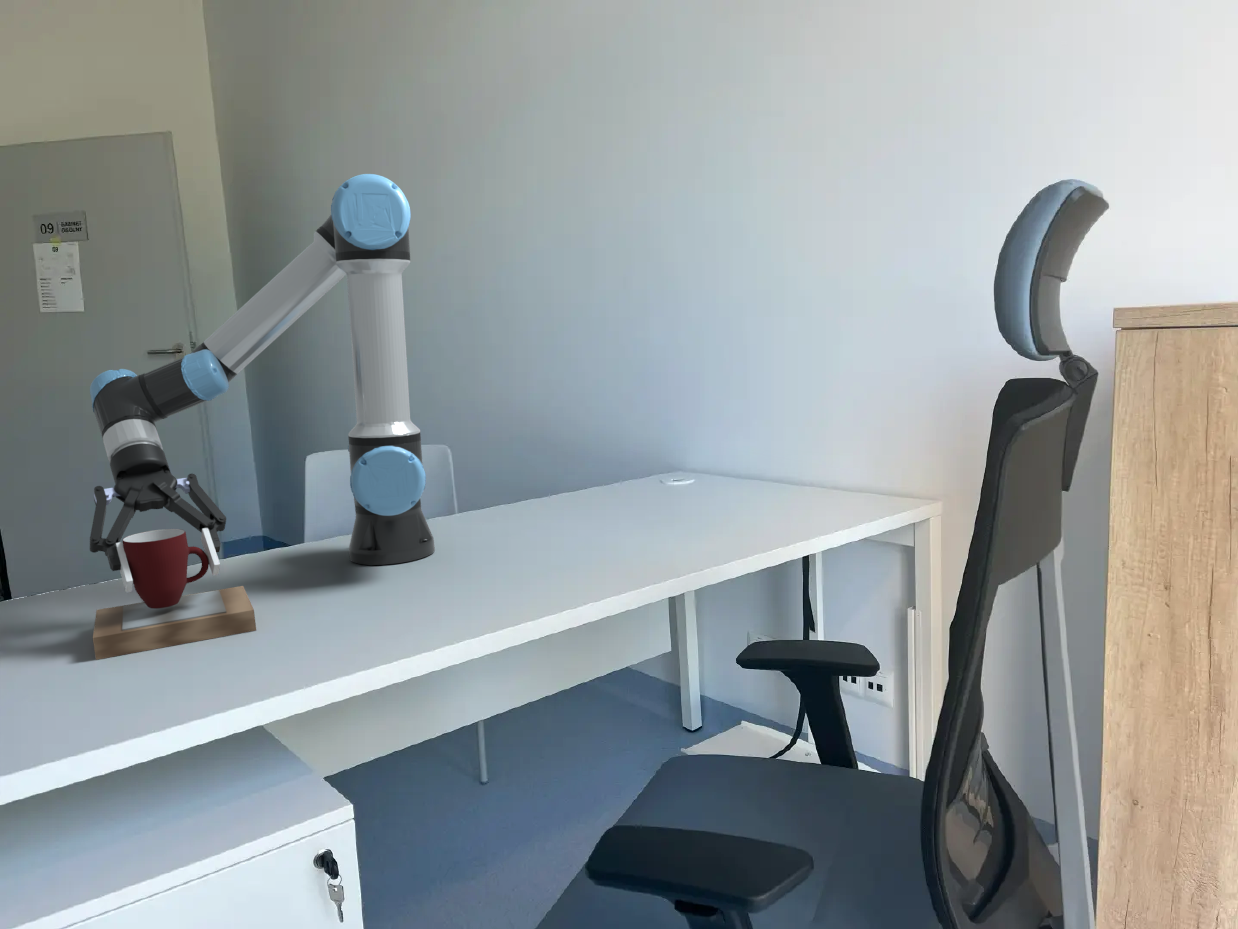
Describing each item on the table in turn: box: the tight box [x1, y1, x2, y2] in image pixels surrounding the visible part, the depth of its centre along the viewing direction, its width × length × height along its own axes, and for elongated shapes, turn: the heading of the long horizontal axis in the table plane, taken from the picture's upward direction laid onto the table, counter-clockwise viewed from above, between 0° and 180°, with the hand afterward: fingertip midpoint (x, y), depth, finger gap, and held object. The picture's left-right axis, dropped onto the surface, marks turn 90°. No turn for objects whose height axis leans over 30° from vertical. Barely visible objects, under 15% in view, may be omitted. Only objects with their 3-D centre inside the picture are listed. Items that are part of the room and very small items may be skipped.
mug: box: [122, 528, 210, 609], centre depth 136 cm, size 11×8×10 cm
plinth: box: [92, 585, 257, 661], centre depth 138 cm, size 20×15×3 cm
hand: (174, 578), depth 134 cm, fingers closed on mug, 11 cm apart
